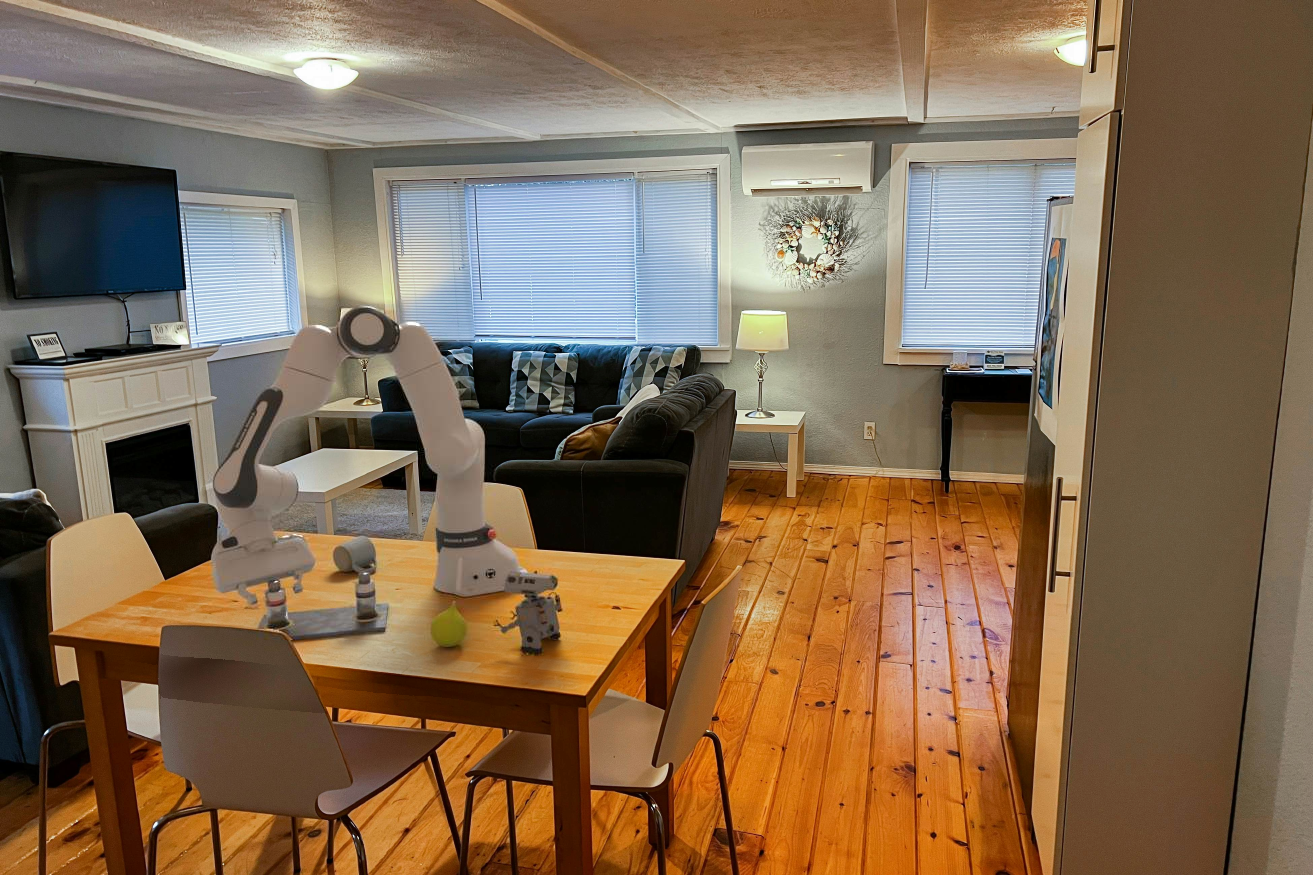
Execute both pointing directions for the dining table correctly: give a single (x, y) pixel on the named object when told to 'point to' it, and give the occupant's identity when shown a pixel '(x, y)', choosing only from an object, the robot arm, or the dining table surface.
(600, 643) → the dining table surface
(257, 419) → the robot arm
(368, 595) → the dark-banded small bottle
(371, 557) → the ceramic mug
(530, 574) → the figurine
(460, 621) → the ornament
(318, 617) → the plate
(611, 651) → the dining table surface
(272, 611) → the red-banded small bottle
